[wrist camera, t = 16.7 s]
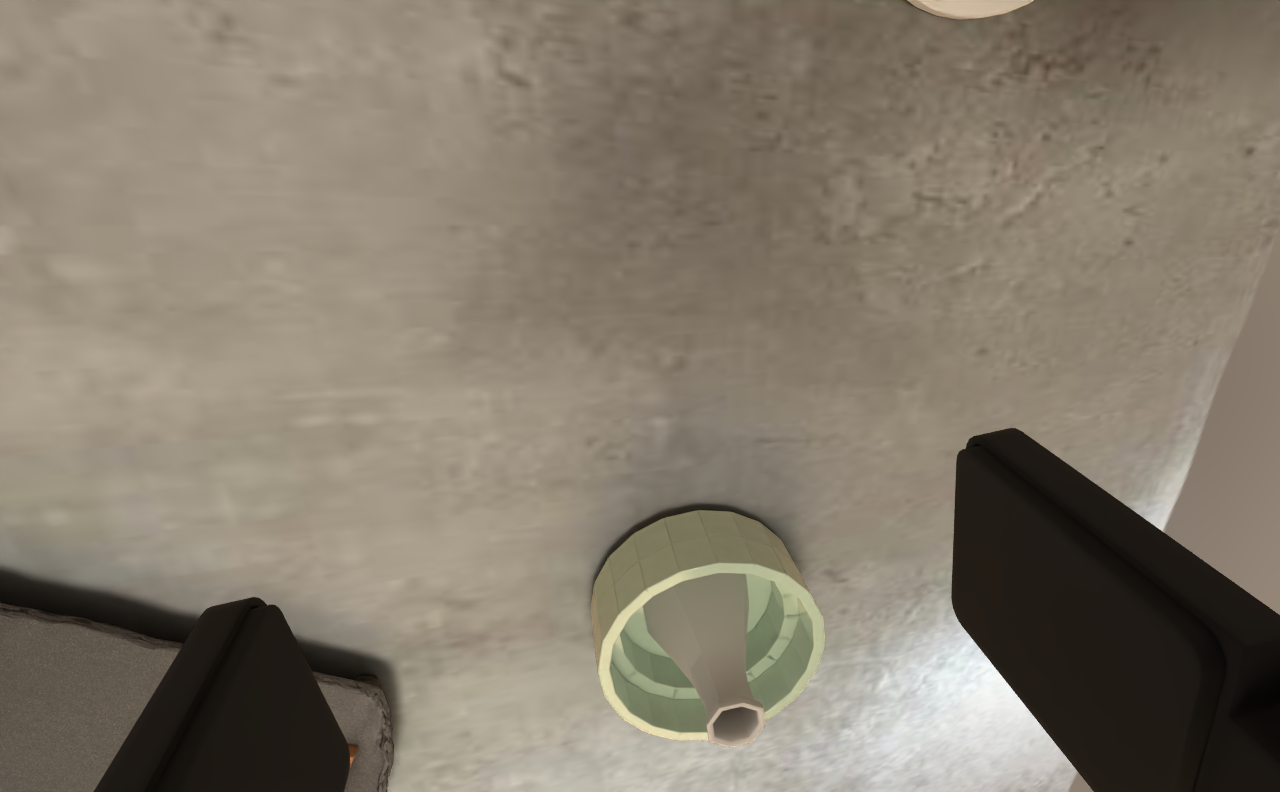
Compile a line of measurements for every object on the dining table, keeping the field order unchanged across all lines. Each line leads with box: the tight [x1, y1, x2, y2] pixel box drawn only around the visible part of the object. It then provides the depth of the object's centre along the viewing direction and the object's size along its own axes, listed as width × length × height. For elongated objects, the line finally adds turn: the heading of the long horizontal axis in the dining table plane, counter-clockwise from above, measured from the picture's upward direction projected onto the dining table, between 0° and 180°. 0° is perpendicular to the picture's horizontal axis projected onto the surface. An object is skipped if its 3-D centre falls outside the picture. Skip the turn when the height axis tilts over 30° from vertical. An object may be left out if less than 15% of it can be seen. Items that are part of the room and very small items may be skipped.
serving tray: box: [0, 602, 394, 792], centre depth 41 cm, size 39×23×6 cm, turn 64°
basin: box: [590, 510, 825, 740], centre depth 43 cm, size 13×13×6 cm
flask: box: [643, 573, 765, 747], centre depth 41 cm, size 7×7×10 cm
